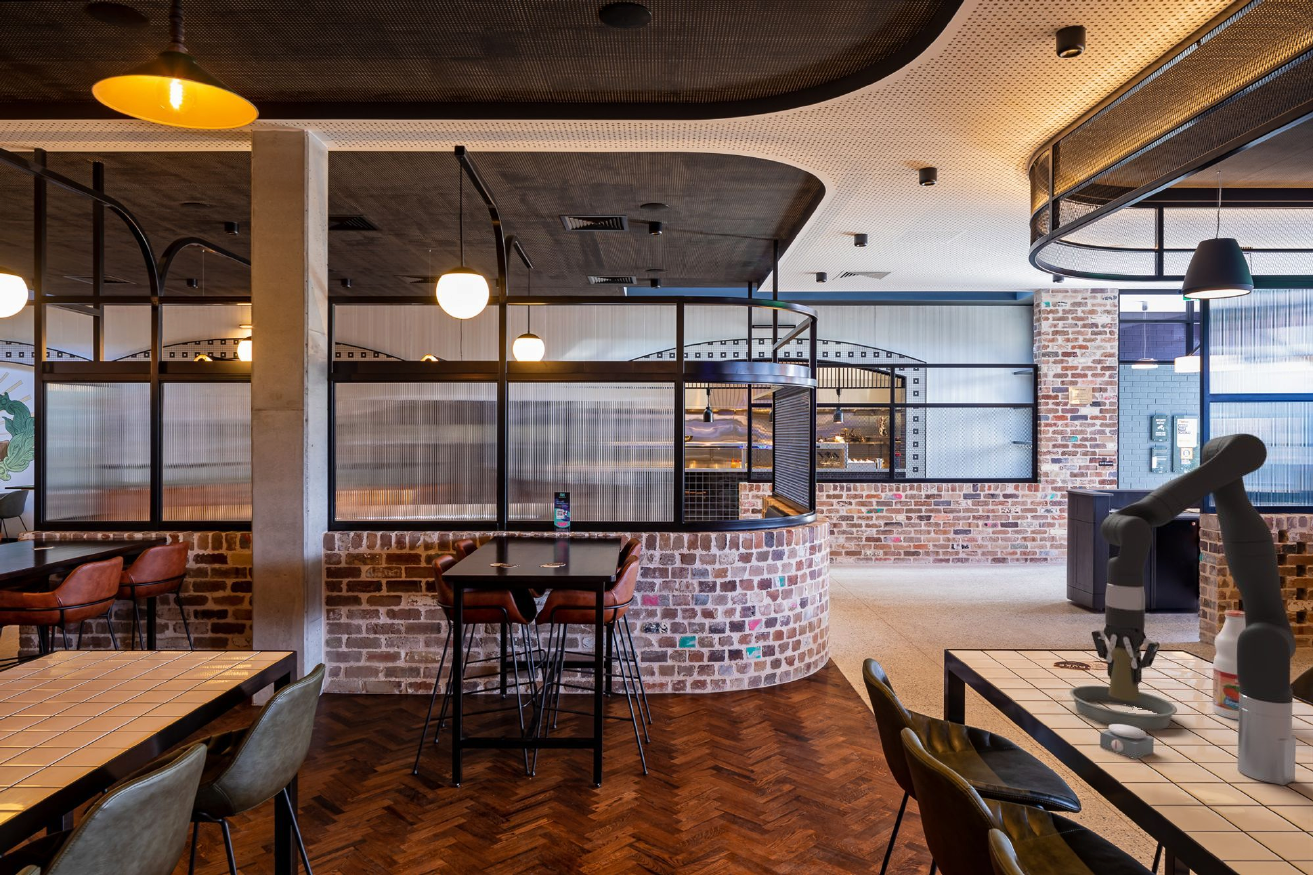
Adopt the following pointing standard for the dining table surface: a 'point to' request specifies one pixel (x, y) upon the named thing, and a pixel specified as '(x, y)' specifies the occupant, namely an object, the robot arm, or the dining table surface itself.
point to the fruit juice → (1227, 666)
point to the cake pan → (1118, 717)
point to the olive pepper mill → (1122, 676)
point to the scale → (1127, 740)
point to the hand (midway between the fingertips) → (1124, 681)
